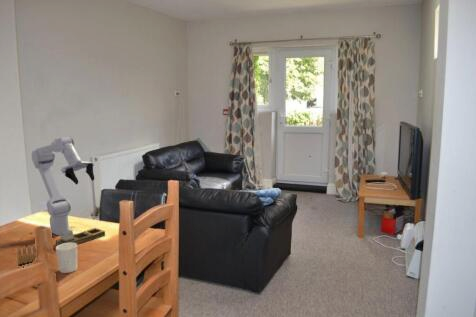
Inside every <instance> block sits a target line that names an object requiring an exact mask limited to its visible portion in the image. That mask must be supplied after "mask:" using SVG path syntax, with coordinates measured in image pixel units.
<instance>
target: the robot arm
mask: <svg viewBox="0 0 476 317" xmlns="http://www.w3.org/2000/svg"><path fill="white" fill-rule="evenodd" d="M56 153H61V154H63V157H64V158H65V160H66V161H67V164H68V165H67V166H62V167H61V169H60V171H61V173H62V174H64V176H65V177H66V178H68V179H69V180H71V181H72V182H73V183H74V184H75V185H76V186H77V185H78V184H79V180H78V177H77V176H76V173H75V172H77V171H80V170H82V169H85V173H87V175H88V176H89V178H90V180H91V181H92V182H93V181H94V180H95V175H94V165H95V163H94V162H93V161H82V158H81V157H80V155H79V153H78V151H77V150H76V148H75V142H74V139H73V138H72V137H71V136H67V137H66V136H65V137H59V138H55V139H54V141H52V142H51V143H50V144H49V145H44V146H42V147H38V148H36V149H34V150H32V152H31V160H32V163H33V166H34V167H35V169H37V170H38V172H39V174H40V176H41V179H42V181H43V184H44V186H45V189H46V192H47V194H48V196H49V200H48V201H47V202H46V208H47V214H48V215H49V216H50V217H49V227H50V228H51V229H50V228H49V229H50V230H52V232H51V234H54V235H57V236H60V232H63V231H66V230H70V231H72V232H73V229H71V228H70V226H69V224H70V223H69V214H70V212H71V210H72V204H71V202H70V201H69V200H68V197H67V196H64V195H63V194H61V193H60V191H59V189H58V188H59V187H58V186H57V183H56V180H55V179H54V175H53V173H52V171H51V167H53V166H54V163H55V158H56Z"/></svg>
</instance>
